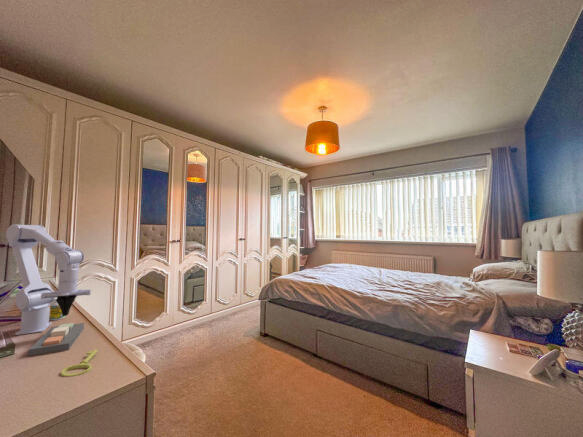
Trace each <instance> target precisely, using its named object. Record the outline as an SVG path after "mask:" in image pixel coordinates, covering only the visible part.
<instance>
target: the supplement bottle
mask: <svg viewBox="0 0 583 437" xmlns="http://www.w3.org/2000/svg"><path fill="white" fill-rule="evenodd" d="M56 300H57V297H56V298H55V299H54V301H53V302H52V303H50V306H49V308H50V314H49V321H60V320H63V319H65V318H66V316H62V311H61V308H60V306H59V304H58V303H57V301H56Z"/></svg>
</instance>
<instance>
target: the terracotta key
mask: <svg viewBox="0 0 583 437" xmlns="http://www.w3.org/2000/svg"><path fill="white" fill-rule="evenodd" d="M62 340H63V336H56V337H49V338H47V339H46V340H45V341H44V342H43V346H46V345H53V344H59V343H61V342H62Z"/></svg>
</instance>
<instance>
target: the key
mask: <svg viewBox="0 0 583 437" xmlns="http://www.w3.org/2000/svg"><path fill="white" fill-rule="evenodd" d="M97 353H98V350H97V349H94V350H88V351H87V352H86V353H85V355H88V356H87V357H86V358H85V359H84V360H81V361H80V362H79V364H73V365H70V366H67V367H65V368H63V369H62V370H61V371H60V376H61V377H63V376H64V378H67V377H66V376H72V377H77V376H76V375H78V376H81V374H82V375H84V373H85V374H87V373H90V372H91V371H92V368H93V367H92V364H90V363H88V362H90V360H92V359H93V357H94V356H95V355H96V354H97ZM77 369H85V370H83V371H80V372H76V373H75V372H74V373H67V372H68V371H71V370H77ZM86 372H87V373H86Z"/></svg>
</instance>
